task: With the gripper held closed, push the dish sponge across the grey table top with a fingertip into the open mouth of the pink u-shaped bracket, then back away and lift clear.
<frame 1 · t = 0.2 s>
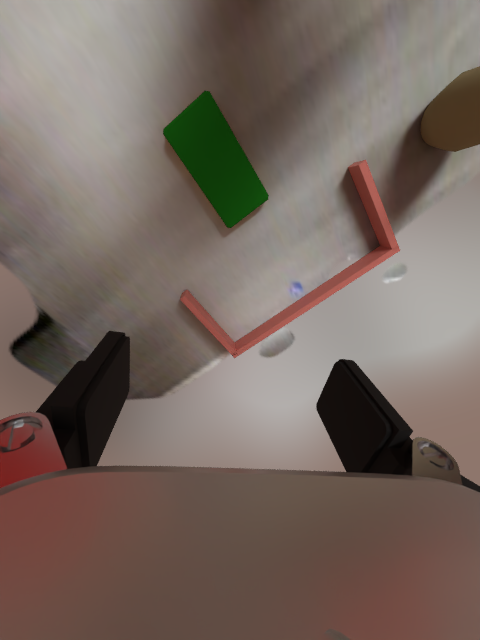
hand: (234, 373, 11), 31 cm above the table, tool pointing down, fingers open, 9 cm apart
pink u-shaped bracket: (279, 261, 40), on the table
squeeze bottle: (439, 120, 33), on the table
dish sponge: (219, 168, 34), on the table
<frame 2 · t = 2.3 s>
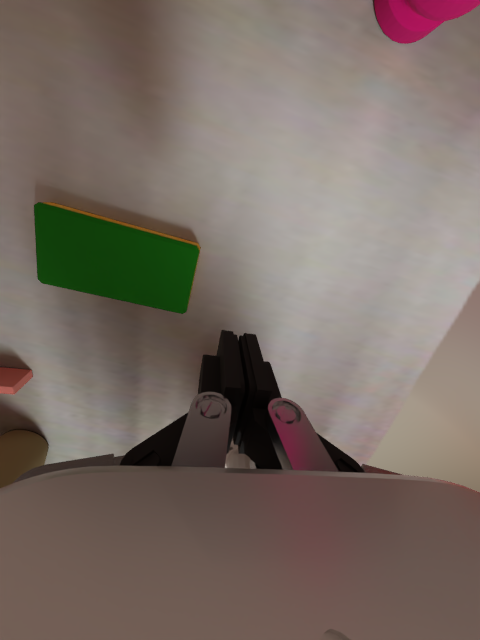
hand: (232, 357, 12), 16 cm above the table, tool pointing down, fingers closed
squeeze bottle: (27, 442, 34), on the table
dish sponge: (127, 259, 25), on the table
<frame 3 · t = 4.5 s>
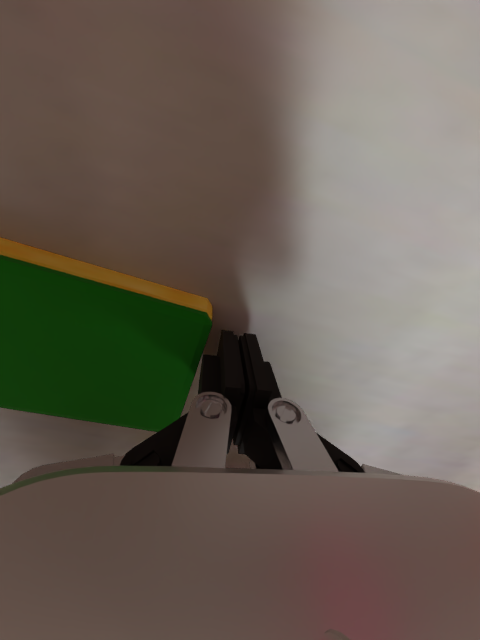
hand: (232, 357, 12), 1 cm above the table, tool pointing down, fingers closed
dish sponge: (57, 320, 12), on the table, touching gripper
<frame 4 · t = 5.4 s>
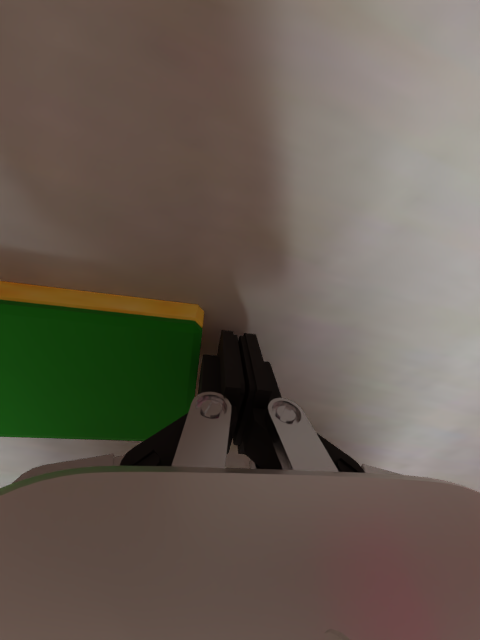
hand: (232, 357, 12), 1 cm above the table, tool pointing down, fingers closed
dish sponge: (63, 348, 13), on the table, touching gripper
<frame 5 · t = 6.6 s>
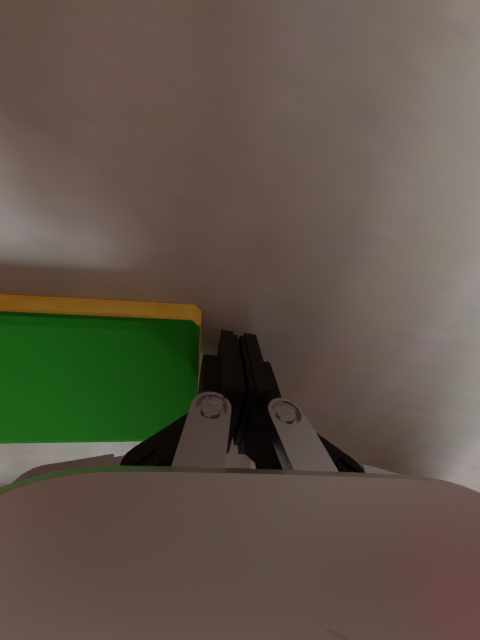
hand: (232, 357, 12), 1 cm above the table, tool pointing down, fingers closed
dish sponge: (68, 355, 13), on the table
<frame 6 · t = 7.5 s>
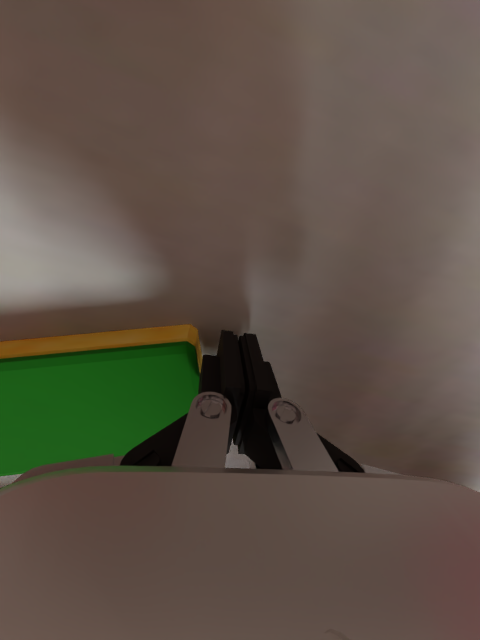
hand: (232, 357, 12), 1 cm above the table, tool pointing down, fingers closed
dish sponge: (84, 384, 14), on the table, touching gripper
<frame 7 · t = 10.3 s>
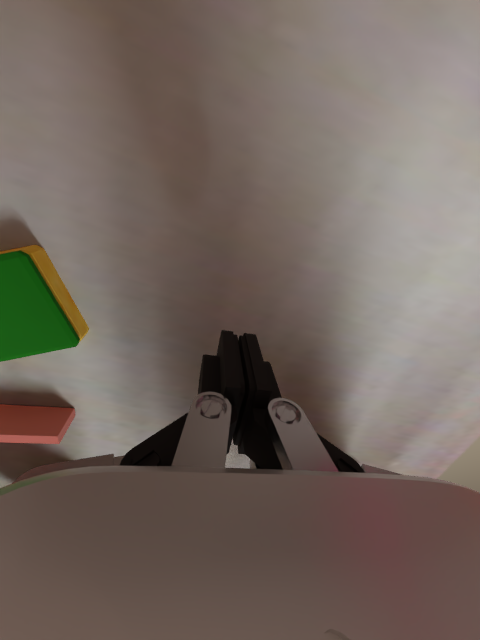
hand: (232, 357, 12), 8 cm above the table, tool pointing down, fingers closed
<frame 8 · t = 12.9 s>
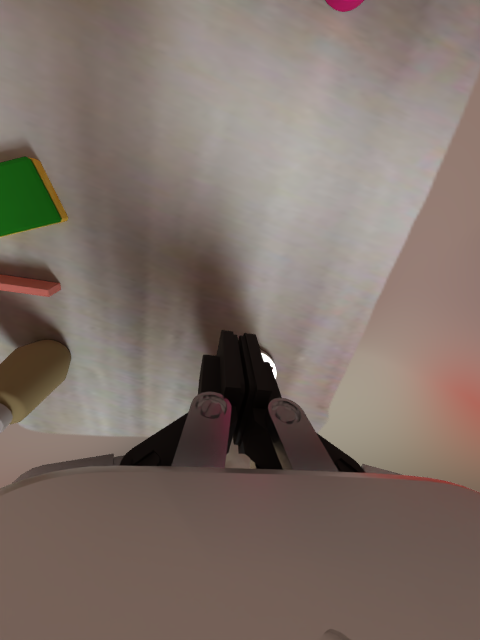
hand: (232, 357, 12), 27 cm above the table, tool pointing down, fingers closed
squeeze bottle: (53, 352, 41), on the table
dish sponge: (6, 203, 32), on the table
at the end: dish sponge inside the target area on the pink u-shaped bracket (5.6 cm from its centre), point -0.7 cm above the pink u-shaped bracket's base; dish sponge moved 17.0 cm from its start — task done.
